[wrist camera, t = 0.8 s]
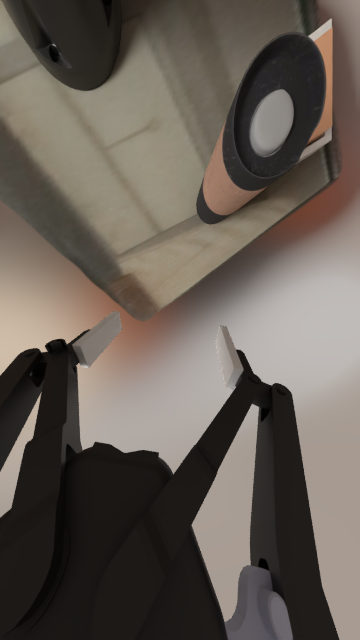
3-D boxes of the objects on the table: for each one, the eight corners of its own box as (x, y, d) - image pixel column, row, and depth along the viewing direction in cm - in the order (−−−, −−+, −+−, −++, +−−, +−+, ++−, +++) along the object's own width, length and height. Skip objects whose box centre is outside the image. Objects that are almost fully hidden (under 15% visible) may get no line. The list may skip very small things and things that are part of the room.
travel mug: (189, 192, 27) (219, 72, 9) (224, 172, 26) (332, -9, 8) (202, 232, 31) (241, 198, 13) (233, 215, 29) (326, 152, 11)
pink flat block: (250, 103, 21) (261, 81, 18) (310, 58, 19) (332, 26, 17) (262, 174, 25) (273, 164, 22) (313, 141, 23) (332, 126, 20)
